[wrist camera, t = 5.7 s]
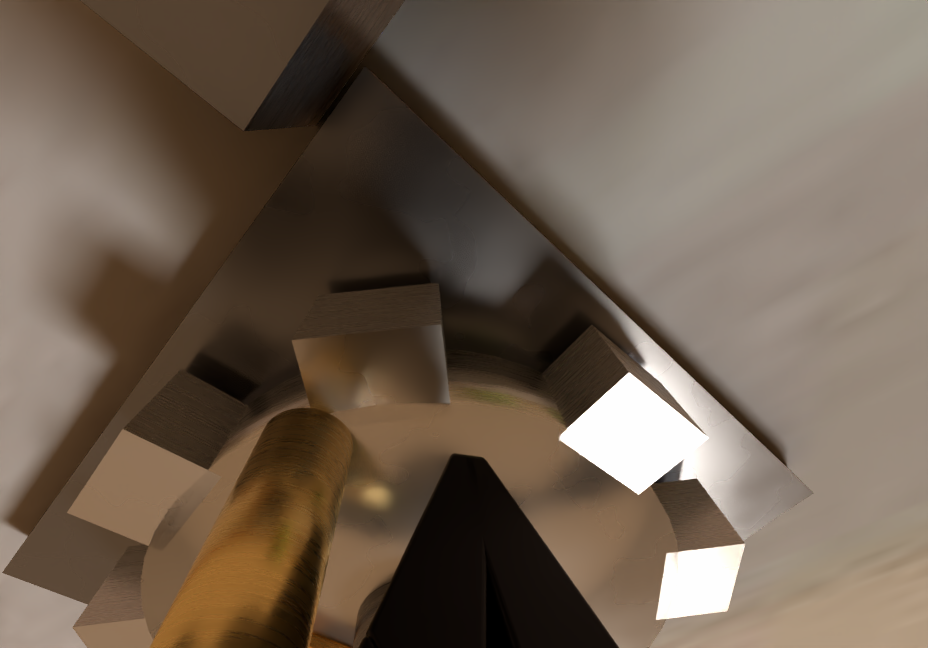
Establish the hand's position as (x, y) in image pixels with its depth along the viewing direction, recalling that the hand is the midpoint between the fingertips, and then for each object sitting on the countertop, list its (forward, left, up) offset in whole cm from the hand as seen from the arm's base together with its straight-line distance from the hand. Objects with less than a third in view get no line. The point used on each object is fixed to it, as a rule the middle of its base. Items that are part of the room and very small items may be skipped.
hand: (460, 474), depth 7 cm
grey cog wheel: (-3, +4, -3) cm, 6 cm away
